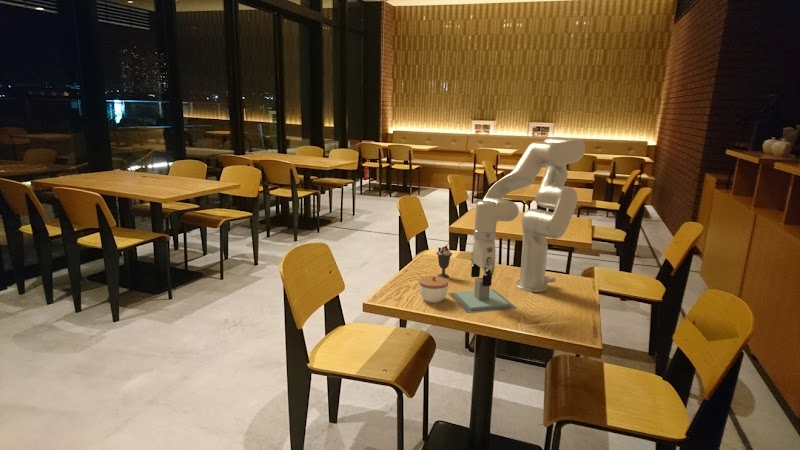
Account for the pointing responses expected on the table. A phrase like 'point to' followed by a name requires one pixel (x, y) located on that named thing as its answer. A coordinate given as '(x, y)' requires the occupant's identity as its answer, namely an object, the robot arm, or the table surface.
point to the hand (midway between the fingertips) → (480, 281)
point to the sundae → (444, 260)
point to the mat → (480, 309)
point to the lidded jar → (433, 288)
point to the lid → (481, 297)
